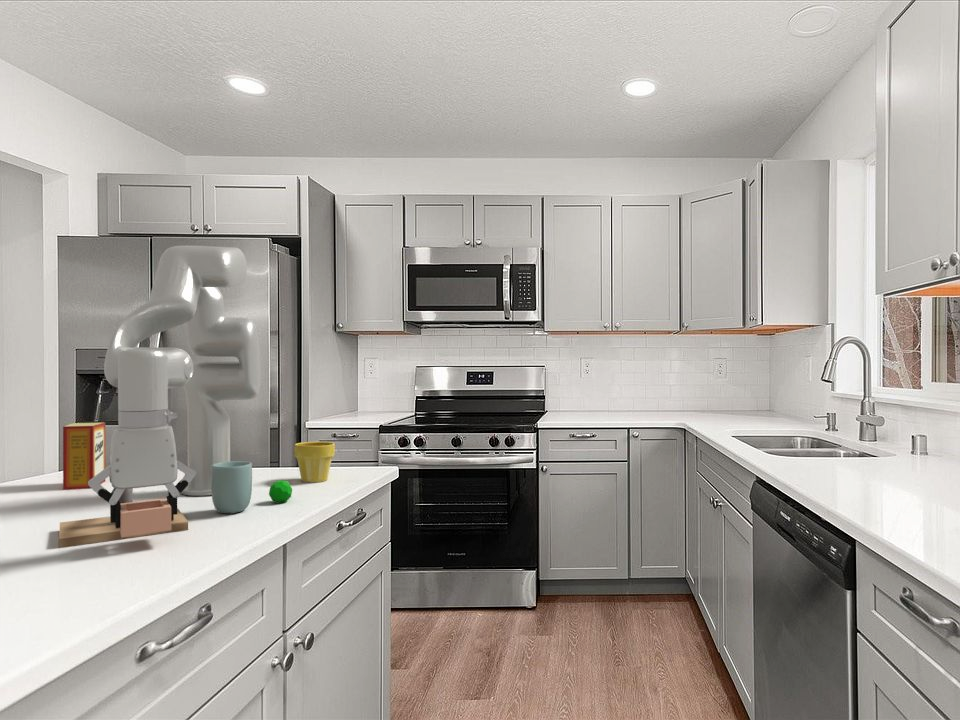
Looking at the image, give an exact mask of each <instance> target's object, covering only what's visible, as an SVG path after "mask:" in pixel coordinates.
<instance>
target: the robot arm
mask: <svg viewBox="0 0 960 720" xmlns="http://www.w3.org/2000/svg"><path fill="white" fill-rule="evenodd" d="M247 266H248V265H247V259H246V256H245V254H244V252H243V251H242V250H241V248H238V247H235V246H215V245H214V246H213V245H212V246H208V245H175V246H171V247H168V248H167V249H165V251H164V252H162V254H161V256H160V259H159V262H158V266H157V269H156V274H155V277H154V282H153V285H152V287H151V292H150V295H149V296H150V297H149V299H148V301H147V302H145V303H143V304H142V305H140V306H139V307H137V308H136V309H134V310H133V311H131V312H130V313H129V314H128V315H127V316H126V317H124V318H123V319H122V320H121V321H120V322H119V323H118V324H117V325H116V326H115V328H114V330H113V332H112V334H111V336H110V340H109V344H108V347H107V350H106V352H105V358H104V364H103V372H104V377H105V379H106V381H107V382H108V384H110V385H111V386H112V387H114V388H117V397H118V398H117V402H118V403H117V404H118V407H117V409H118V411H117V412H118V414H117V416H118V421H117V422H118V423H117V424H118V428H114V429H113V431H112V435H111V440H110V449H109V462H108V463H109V465H108V466H105V469H104V470H102V471H101V472H100V473H99V474H97V475H96V476H95V477H93V478H92V479H91V480H89V481H88V485H89V486H90V487H91V488H90V489H91V490H92V491H94V492H95V493H96V494H97V495H98V496H99V497H100V498H101V499H103V500H104V501H105V502H107V503H108V504H109V505H110V507H109V508H110V509H109V515H110V516H109V517H110V522H111V523H115V527H116V529H117V528H120V510H121V504H120V502H119V498H120V497H121V495H122V493H123V492H124V490H125V489H131V488H133V489H138V488H139V489H140V488H148V487H149V488H150V487H157V486H165V488H166V489H167V490H168V493H167V496H166V500H167V502H168V504H170V506H171V521H174V515H175V514H177V508H178V497H179V496H180V494H181V495H185V496H193V497H194V496H195V497H196V496H197V497H199V496H201V497H202V496H212V490H211V467H212V465H213V464H216V463H221V462H229V461H231V419H230V415H229V414H228V411H227V410H226V409H225V407H223V406H222V404H221V403H220V402H221V401H243V400H244V401H245V400H252V399H255V398H256V397H257V396H258V395H259V394H260V390H261V385H262V382H261V362H260V361H261V360H260V359H261V358H260V340H259V339H260V338H259V332H258V328H257V325H256V324H255V322H254V321H253V320H252V319H250V318H247V317H235V316H234V317H229V316H228V317H227V316H226V315H225V304H224V303H225V301H224V296H223V294H222V292H221V291H220V289H219V288H223V289H224V288H233V287H236V286H238V285H240V284H241V283H242V282H244V280H245V277H246V275H247V271H248V267H247ZM183 324H185V325H186V326H185V327H186V328H185V329H186V338H187V347H188V349H189V351H190V352H191V353H192V355H195V356H198V357H209V358H210V357H211V358H214V357H215V358H217V357H219V358H220V357H222V358H223V357H229V358H231V357H233V358H236V359H237V360H238V361H235V360H233V361H231V360H230V361H227V360H225V361H223V360H210V361H209V360H203V361H196V362H194V361H193V359H192V357H191V356H190V355H189V353H188V352H187V351H186V350H185V349H181V348H179V347H149V346H148V347H145V346H142V347H140V346H137V345H139V344H140V343H141V342H143V341H144V340H146V339H148V338H149V337H152V336H154V335H157V334H160V333H162V332H165V331H168V330H170V329H174V328H177V327H179V326H182V325H183ZM181 387H183V388H184V394H185V400H186V412H187V413H186V414H187V465H186V464H185V463H183V462H182V461H180V460H179V459H178V457H177V447H176V445H177V444H176V439H175V434H174V429H173V426H172V425H169V424H170V422H172V421H174V420H178V412H177V411H174V412H173V411H171V410H170V409H169V389H176V388H181ZM178 471H180V472H182V473H183V474H184V475H183V477H182V479H180V481H178V483H177V484H176V485H175V484H174V483H175V482H176V481H177V480H178ZM107 478H109V482H110V484H111V487H112V488H113V489H112V490H111V492H110V491H109V490H108V489H107V488H105V487H104V486H103V485H102V483H101V482H102V481H103V480H105V481H106V479H107ZM100 483H101V484H100Z"/></svg>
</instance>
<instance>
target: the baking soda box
mask: <svg viewBox="0 0 960 720" xmlns="http://www.w3.org/2000/svg"><path fill="white" fill-rule="evenodd" d="M62 466H63V467H62V471H63V472H62V473H63V474H62V484H63V485H62V490H63V491H64V490H66V491H67V490H69V491H70V490H81V489H82V490H86V489H92V488H91V487H90V486H89V485H88V481H89V480H91V479H92V478H93V477H95V476H96V475H97V474H99V473H100V472H101V471H102V470H104V469H105V468H106V422H103V421H102V422H77V423H76V422H75V423H70V424H67V425H64V426H62ZM105 482H106V479H105V480H103V481H102V482H101V483H100V484H101V485H102V484H103V483H105Z"/></svg>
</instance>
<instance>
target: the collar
mask: <svg viewBox="0 0 960 720" xmlns="http://www.w3.org/2000/svg"><path fill="white" fill-rule="evenodd" d="M170 530H171V506H170V504H168V502H167V497H165V498H155V499H149V500H140V501H139V500H138V501H133V502H130V503H121V510H120V528H119V531H120V534H121V538H122V537H129V536H135V535H142V534H149V533H156V532H163V531H170Z"/></svg>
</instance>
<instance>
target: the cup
mask: <svg viewBox="0 0 960 720" xmlns="http://www.w3.org/2000/svg"><path fill="white" fill-rule="evenodd" d="M252 487H253V464H252V462H251V461H246V460H233V461H232V460H230V461H229V462H221V463H216V464H213V465H212V467H211V490H212V495H211V500H212V504H213V506H214V509H215V510H216V511H217V512H219V513H221V514H227V515H228V514H229V515H230V514H238V513H241V512H243V511H244V510H246V509H247V508H248V507H249V505H250V504H251V503H250V502H251V499H252V491H253V489H252Z"/></svg>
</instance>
